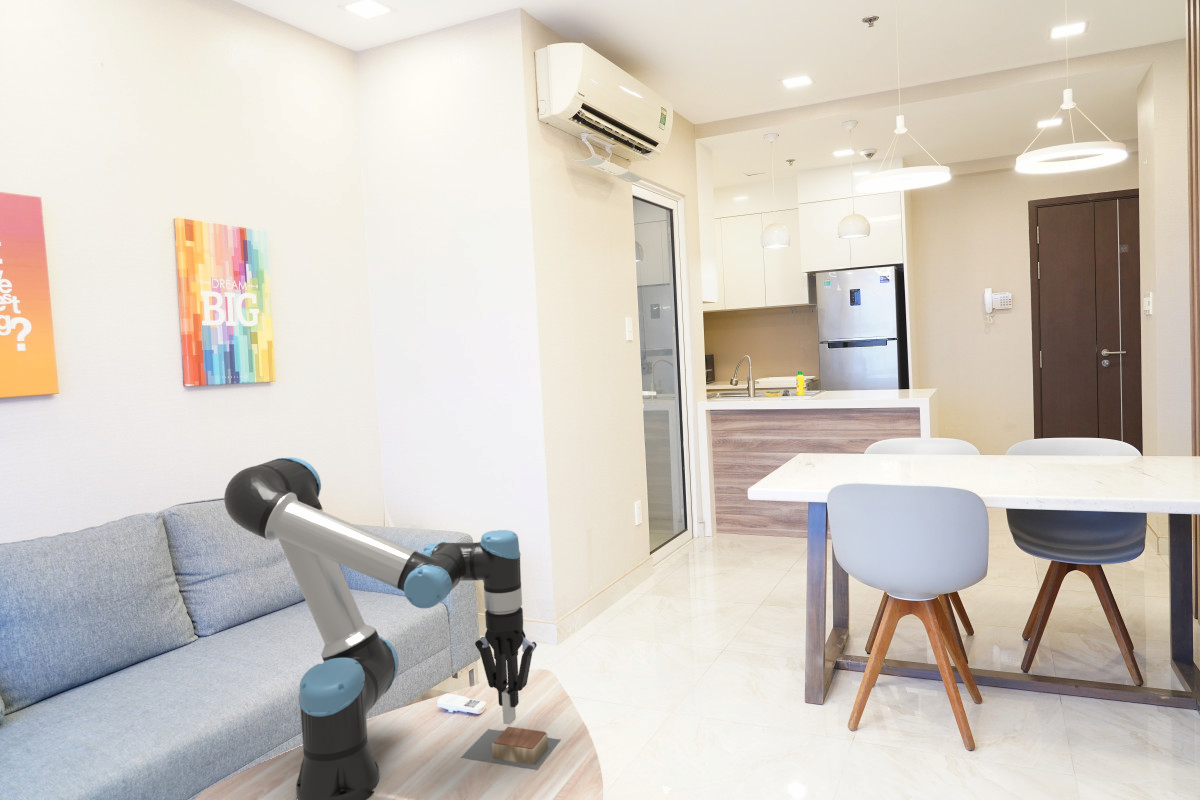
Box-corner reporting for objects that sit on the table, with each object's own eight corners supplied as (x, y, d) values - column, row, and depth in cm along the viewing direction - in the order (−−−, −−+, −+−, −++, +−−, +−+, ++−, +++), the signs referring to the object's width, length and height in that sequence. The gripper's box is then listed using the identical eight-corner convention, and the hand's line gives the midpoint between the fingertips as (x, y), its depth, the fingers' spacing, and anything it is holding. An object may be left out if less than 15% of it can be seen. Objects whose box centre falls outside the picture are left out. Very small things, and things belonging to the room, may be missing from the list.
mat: (460, 760, 156) (460, 757, 156) (488, 731, 168) (488, 728, 168) (537, 772, 151) (537, 770, 151) (560, 742, 162) (560, 739, 162)
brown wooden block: (492, 742, 155) (533, 748, 152) (507, 725, 162) (547, 731, 159) (492, 758, 156) (533, 764, 153) (508, 741, 162) (547, 746, 159)
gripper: (540, 604, 157) (546, 716, 159) (483, 599, 162) (489, 708, 163) (525, 617, 150) (531, 734, 152) (466, 611, 155) (472, 725, 156)
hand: (509, 720), depth 158 cm, fingers closed
